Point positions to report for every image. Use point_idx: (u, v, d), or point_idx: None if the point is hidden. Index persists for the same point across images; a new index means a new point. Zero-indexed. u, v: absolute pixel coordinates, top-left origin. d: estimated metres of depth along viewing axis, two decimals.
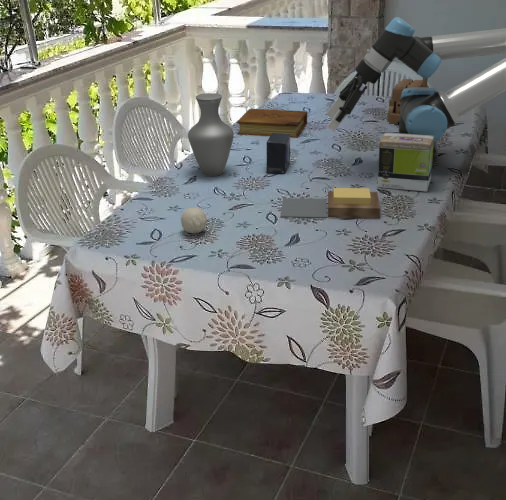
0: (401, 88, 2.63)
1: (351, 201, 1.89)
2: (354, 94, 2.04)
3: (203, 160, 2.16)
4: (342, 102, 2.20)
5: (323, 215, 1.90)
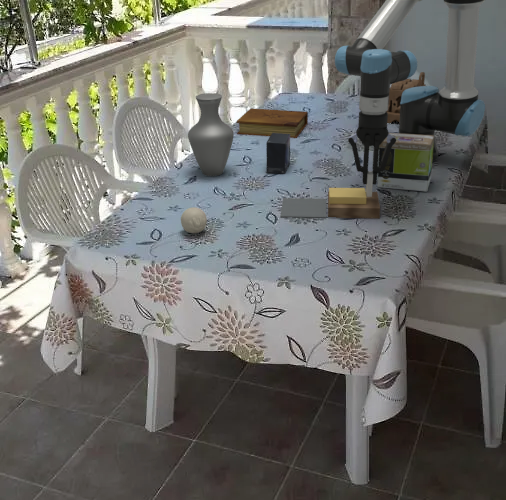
0: (397, 87, 2.65)
1: (347, 201, 1.89)
2: (389, 152, 1.85)
3: (203, 160, 2.16)
4: None
5: (323, 215, 1.90)
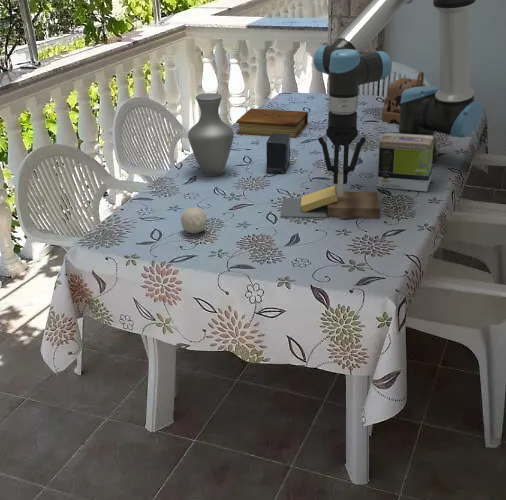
0: (395, 87, 2.65)
1: (318, 204, 1.90)
2: (359, 151, 1.85)
3: (203, 160, 2.16)
4: None
5: (323, 215, 1.90)
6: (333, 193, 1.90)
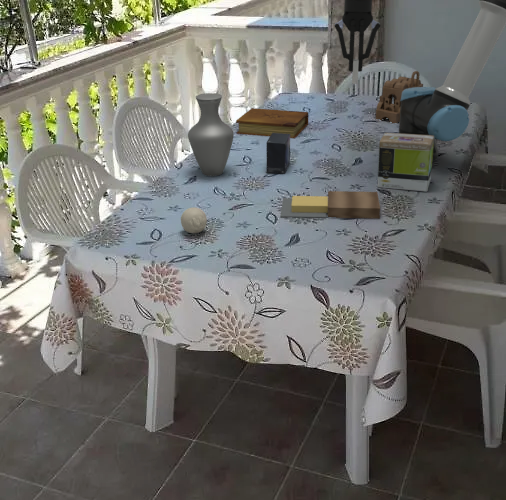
0: (389, 85, 2.68)
1: (309, 209, 1.91)
2: None
3: (203, 160, 2.16)
4: None
5: (323, 215, 1.90)
6: (326, 204, 1.91)
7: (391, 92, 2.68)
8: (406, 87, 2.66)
